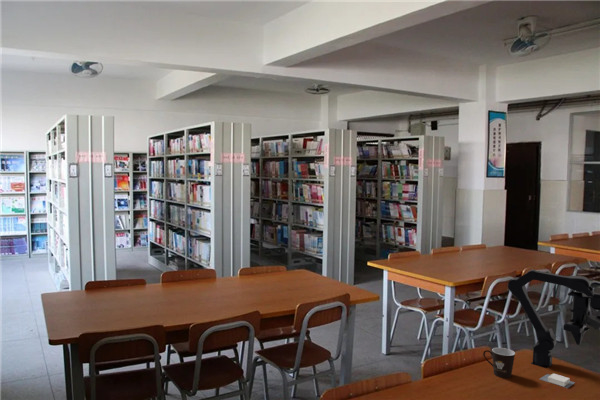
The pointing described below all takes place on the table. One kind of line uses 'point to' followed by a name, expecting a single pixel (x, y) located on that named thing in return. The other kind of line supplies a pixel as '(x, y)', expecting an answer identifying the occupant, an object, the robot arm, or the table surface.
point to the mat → (545, 378)
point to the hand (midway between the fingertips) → (578, 344)
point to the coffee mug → (502, 361)
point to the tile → (558, 380)
